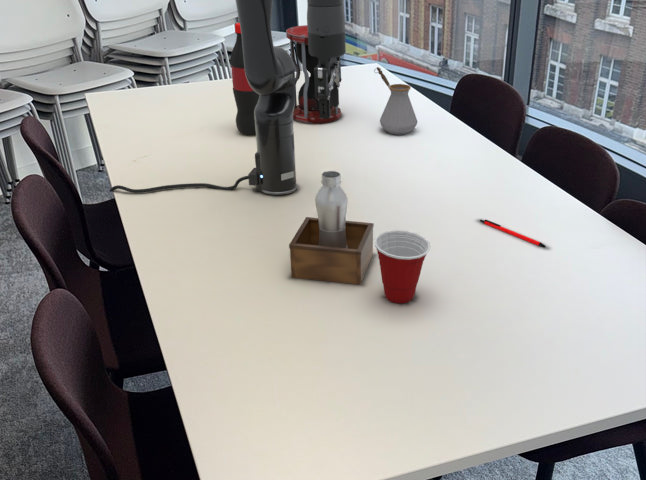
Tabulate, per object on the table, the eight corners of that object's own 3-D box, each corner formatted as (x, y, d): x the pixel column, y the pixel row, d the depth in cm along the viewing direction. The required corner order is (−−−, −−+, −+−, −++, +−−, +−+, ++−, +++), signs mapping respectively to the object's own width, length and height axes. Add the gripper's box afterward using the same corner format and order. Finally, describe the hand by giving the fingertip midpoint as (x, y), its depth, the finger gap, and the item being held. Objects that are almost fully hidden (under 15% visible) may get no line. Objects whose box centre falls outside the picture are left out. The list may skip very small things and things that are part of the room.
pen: (481, 221, 181) (481, 217, 181) (547, 248, 171) (547, 243, 170) (479, 222, 181) (479, 218, 180) (544, 249, 170) (545, 244, 170)
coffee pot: (423, 134, 230) (426, 82, 221) (389, 139, 226) (391, 86, 217) (392, 113, 245) (393, 64, 236) (359, 118, 241) (359, 68, 232)
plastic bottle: (345, 274, 158) (344, 182, 146) (313, 270, 159) (310, 178, 147) (352, 260, 163) (351, 170, 151) (321, 257, 164) (319, 166, 152)
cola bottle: (270, 130, 230) (262, 21, 212) (257, 138, 224) (248, 27, 205) (244, 126, 232) (235, 18, 214) (231, 134, 226) (220, 24, 207)
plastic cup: (409, 316, 146) (412, 260, 138) (362, 300, 150) (363, 244, 143) (437, 293, 153) (441, 238, 146) (391, 278, 158) (393, 224, 150)
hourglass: (281, 119, 238) (276, 33, 222) (303, 105, 250) (300, 22, 235) (328, 126, 234) (327, 38, 218) (348, 112, 246) (348, 27, 230)
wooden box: (290, 277, 157) (288, 244, 152) (307, 248, 168) (306, 216, 163) (361, 284, 155) (361, 251, 151) (373, 254, 166) (373, 223, 161)
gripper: (316, 21, 158) (319, 101, 168) (299, 35, 147) (304, 121, 156) (351, 22, 157) (353, 103, 167) (337, 37, 146) (339, 123, 155)
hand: (329, 112), depth 161 cm, fingers open, 8 cm apart
